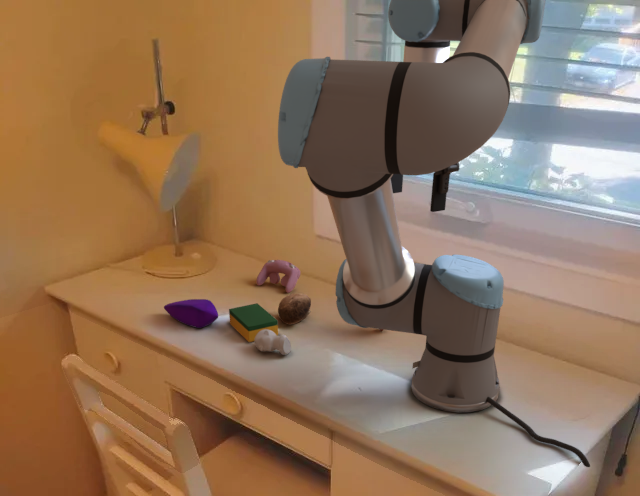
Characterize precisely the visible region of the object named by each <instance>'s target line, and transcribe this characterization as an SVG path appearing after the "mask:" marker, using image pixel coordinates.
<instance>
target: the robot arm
mask: <svg viewBox="0 0 640 496" xmlns="http://www.w3.org/2000/svg"><path fill="white" fill-rule="evenodd" d="M545 7H546V0H390V2H389V5H388V11H387V17H388V23H389V26H390V28H391V30H392V32H393V33H394V35H396V37H398V38H399V39H400V40H403V41H404V48H403V61H394V60H393V61H390V60H389V61H388V60H387V61H386V60H362V59H361V60H360V59H359V60H358V59H331V56H326V57H324V58H321V57H320V58H303V59H300V60H298V61H297V62H296V63H295V64H294V65H293V66H292V67H291V69H290V70H289V72H288V74H287V77H286V79H285V82H284V85H283V89H282V93H281V94H282V95H281V98H280V103H279V110H278V111H279V112H278V119H277V120H278V121H277V144H278V145H277V146H278V152H279V157H280V159H281V161H282V162H283V163H284V164H285V165H286V166H291V167H293V168H294V169H298V168H305V170H306V173H307V175H308V176H307V177H308V178H309V180H310V182H311V185H313V186H314V188H315V189H316V190H317V191H318V192H320V193H322V194H323V195H325V196H326V197H327V200H328V204H329V206H330V210H331V213H332V216H333V221H334V223H335V226H336V229H337V233H338V236H339V239H340V243H341V245H342V249H343V252H344V255H345V259H344V260H343V261H342V262H341V264H340V266H339V268H338V272H337V276H336V282H335V297H336V301H335V303H336V308H337V311H338V314H339V316H340V317H341V319H342V320H343V321H344V322H345V323H346V324H349V325H353V326H357V327H359V328H364V329H369V328H370V329H377V330H379V329H384V330H383V331H385V330H386V331H393V332H400V333H408V334H414V335H421V336H425V337H426V338H425V347H424V350H423V353H422V355H421V357H420V360H417V361H414V362H412V370H413V369H415V370H414V372H413V375H412V378H411V387H410V389H411V392H412V394H413V395H414V397H415V398H416V399H417V400H418V401H420V402H421V403H423V404H424V405H427V406H429V407H430V408H433V409H437V410H439V411H445V412H450V413H451V412H452V413H473V412H478V411H482V410H486V409H488V408H490V407H494V408H495V409H497V410H498V411H500V413H502V414H503V415H505V416H506V417H508V418H509V419H511V420H512V422H514V423H516V424H517V425H518V426H520V427H521V428H523V429H524V430H525V431H526V432H527V434H528V435H529V436H530V437H531V438H532V439H533V440H535V441H537V442H540V443H544V444H550V445H553V446H555V447H558V448H561V449H563V450H566V451H568V452H572V453H573V454H575V455H576V456H577V457H578V459H579V460H580V461H581V462H582V465H583V467H586V468H590V467H591V464H590V461H589V459H588V458H587V457H586V455H585V454H584V452H582V451H581V450H580V449H579V448H578V447H575V446H573V445H570V444H568V443H565V442H562V441H559V440H557V439H554V438H550V437H546V436H545V437H544V436H541V435H540V434H537V433H536V432H535V430H533V429H532V427H531V426H530V425H528V424H527V423H526V422H525V421H523V420H522V419H521V418H519V417H518V416H516V414H514V413H512V412H511V411H510V410H508V409H507V408H506V407H504V406H502V405H501V404H500V403H498V402H497V400H498V399H499V395H500V388H501V387H500V379H499V376H498V369H497V363H496V360H495V359H496V358H495V350H496V344H497V335H498V328H499V321H500V314H501V308H502V307H503V304H504V298H503V296H504V295H503V294H504V286H505V281H504V277H503V275H502V274H501V272H500V270H498V269H497V267H495V266H493V265H492V264H490V263H489V262H487V261H486V260H485V261H484V260H482V259H480V258H476V257H473V256H470V255H462V254H452V255H450V254H443V255H440V256H437V257H436V258H435V259H434V261H433V262H432V264H426V263H419V262H418V263H417V262H414V259H413V257H412V254H411V253H410V252H409V251H408V250H407V249H406V248H405V247H404V246H403V245H402V241H401V234H400V228H399V221H398V216H397V210H396V204H395V197H394V194H399V193H403V183H404V176H414V177H415V176H417V177H418V176H423V175H429V174H432V175H433V176H432V185H431V196H430V209H429V211H430V212H431V213H435V212H442V211H445V210H446V204H447V193H448V192H449V187H450V185H449V184H450V177H451V174H452V173H455V172H459V171H460V162H462V161H463V160H465V159H467V158H468V157H470V156H471V155H472V154H474V153H475V152H476V151H477V150H479V149H480V148H482V147H483V146H484V145H485V144H486V143H487V142H488V141H489V140H490V139H491V138H492V137H493V136H494V135H495V134H496V132H497V131H498V129H499V128H500V126H501V124H502V123H503V122H504V119H505V117H506V114H507V111H508V108H509V105H510V99H511V85H510V80H509V78H510V75H511V72H512V68H513V66H514V64H515V63H514V62H515V60H516V57H517V54H518V51H519V48H520V46H521V45H524V44H532V43H536V42H537V41H538V40H539V38H540V36H541V32H542V27H543V21H544V15H545V9H546V8H545ZM451 42H459V43H458V45H457V47H455V48H456V49H455V50H454V52H453V54H452V55H451V56H450V48H451Z"/></svg>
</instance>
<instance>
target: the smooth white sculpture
mask: <svg viewBox="0 0 640 496" xmlns="http://www.w3.org/2000/svg"><path fill="white" fill-rule="evenodd" d="M254 345H255V348H256V349H257V350H258V351H260V352H274V351H278V352H279V353H280V354H281V355H282V356H286V355H288V354H290V353H291V351H292V343H291V341H290V339H289V338H288V336H287V335H286V334H281V335H278V336H277V335H276V334H275V333H274V332H273V331H271V330H268V329H264V330H261V331H259V332H258V333H257V335H256V336H255V341H254Z"/></svg>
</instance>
